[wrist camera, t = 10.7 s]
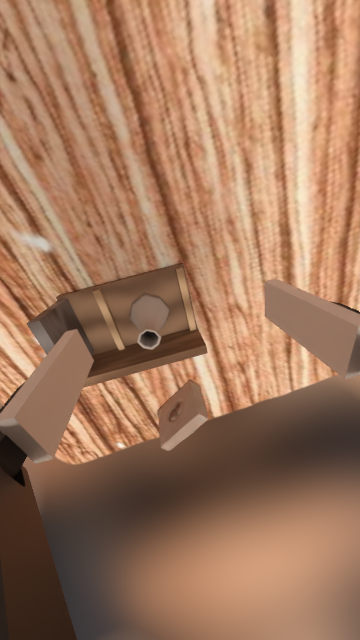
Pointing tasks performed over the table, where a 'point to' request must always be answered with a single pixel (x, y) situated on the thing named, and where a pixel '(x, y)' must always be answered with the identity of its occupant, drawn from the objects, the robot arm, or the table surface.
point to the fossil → (181, 415)
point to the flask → (149, 319)
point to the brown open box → (124, 324)
